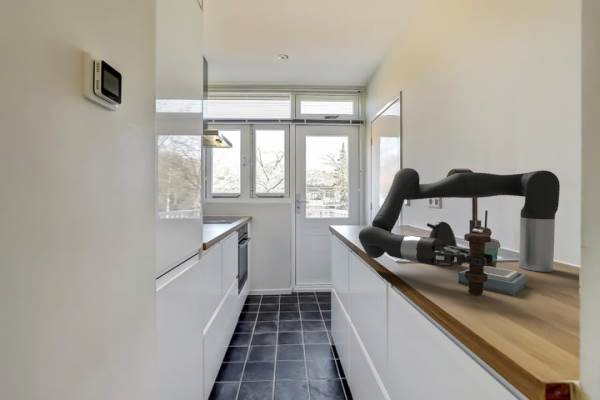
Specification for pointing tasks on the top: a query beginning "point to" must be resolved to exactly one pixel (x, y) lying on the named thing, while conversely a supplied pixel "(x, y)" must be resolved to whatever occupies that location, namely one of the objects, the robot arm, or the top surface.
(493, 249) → the food container
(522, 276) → the socket tray
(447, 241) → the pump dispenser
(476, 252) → the bolt
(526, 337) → the top surface
